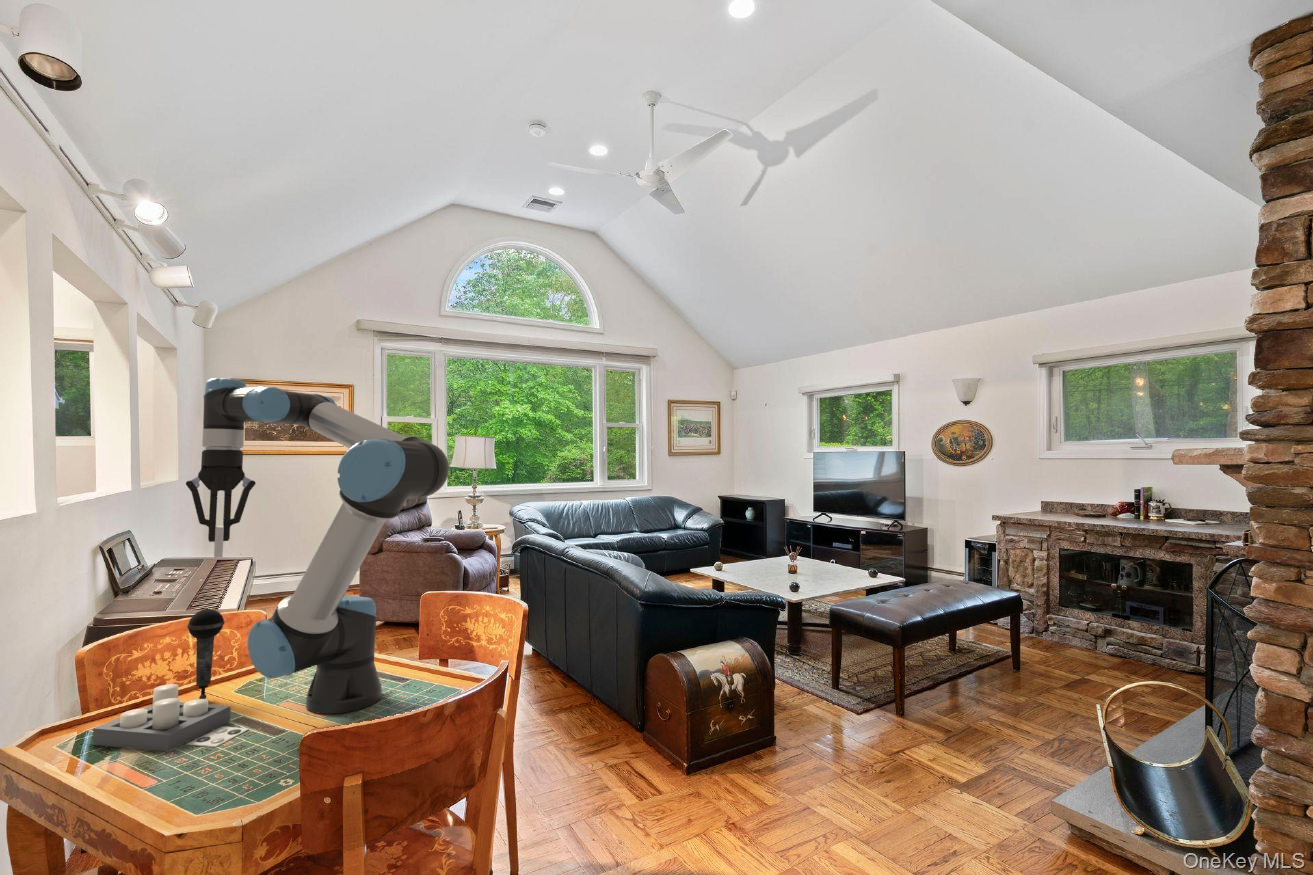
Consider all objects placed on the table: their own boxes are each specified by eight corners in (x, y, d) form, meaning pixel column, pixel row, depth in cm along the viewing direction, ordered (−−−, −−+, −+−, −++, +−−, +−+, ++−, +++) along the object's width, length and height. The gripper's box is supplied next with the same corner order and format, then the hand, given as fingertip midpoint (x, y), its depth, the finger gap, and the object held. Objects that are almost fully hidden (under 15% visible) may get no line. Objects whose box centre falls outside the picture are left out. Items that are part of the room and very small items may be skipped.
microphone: (215, 692, 145) (219, 604, 146) (225, 699, 141) (229, 609, 142) (179, 700, 140) (183, 609, 141) (188, 708, 135) (193, 614, 136)
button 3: (184, 722, 121) (185, 698, 122) (165, 730, 117) (166, 706, 118) (165, 720, 122) (167, 697, 122) (146, 729, 118) (147, 704, 118)
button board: (229, 720, 129) (230, 706, 129) (167, 751, 115) (168, 734, 115) (161, 715, 131) (162, 700, 132) (92, 744, 118) (93, 728, 118)
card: (249, 729, 125) (249, 727, 125) (215, 747, 117) (215, 745, 117) (222, 727, 126) (222, 725, 126) (187, 744, 118) (187, 743, 118)
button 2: (182, 707, 129) (183, 684, 129) (164, 714, 125) (165, 691, 125) (165, 705, 130) (166, 683, 130) (147, 713, 126) (148, 690, 126)
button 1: (151, 732, 122) (152, 709, 123) (131, 741, 118) (133, 717, 119) (133, 731, 123) (135, 708, 123) (113, 740, 119) (114, 715, 119)
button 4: (212, 721, 128) (213, 699, 128) (195, 730, 124) (196, 706, 124) (194, 720, 128) (195, 698, 129) (177, 728, 124) (178, 705, 125)
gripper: (256, 450, 146) (251, 552, 145) (186, 448, 138) (181, 556, 137) (259, 449, 140) (254, 556, 139) (186, 448, 132) (180, 561, 131)
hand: (218, 556), depth 138 cm, fingers closed
